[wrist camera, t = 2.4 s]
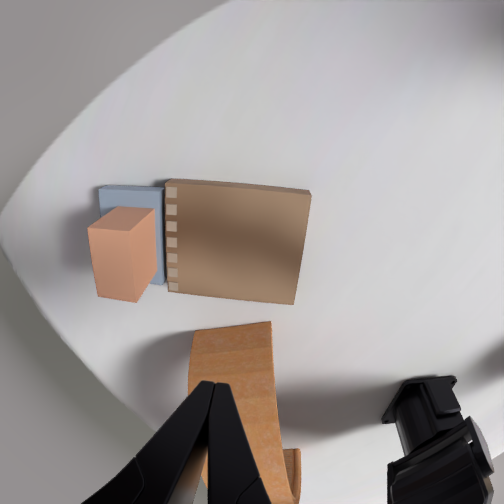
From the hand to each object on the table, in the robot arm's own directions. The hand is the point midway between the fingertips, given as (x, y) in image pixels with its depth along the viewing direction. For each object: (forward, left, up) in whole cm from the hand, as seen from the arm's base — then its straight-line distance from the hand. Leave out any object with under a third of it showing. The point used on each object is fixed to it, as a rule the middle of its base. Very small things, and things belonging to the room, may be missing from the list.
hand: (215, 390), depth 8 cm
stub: (0, +7, -11) cm, 13 cm away
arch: (-16, -2, -12) cm, 20 cm away
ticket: (0, +1, -11) cm, 11 cm away
